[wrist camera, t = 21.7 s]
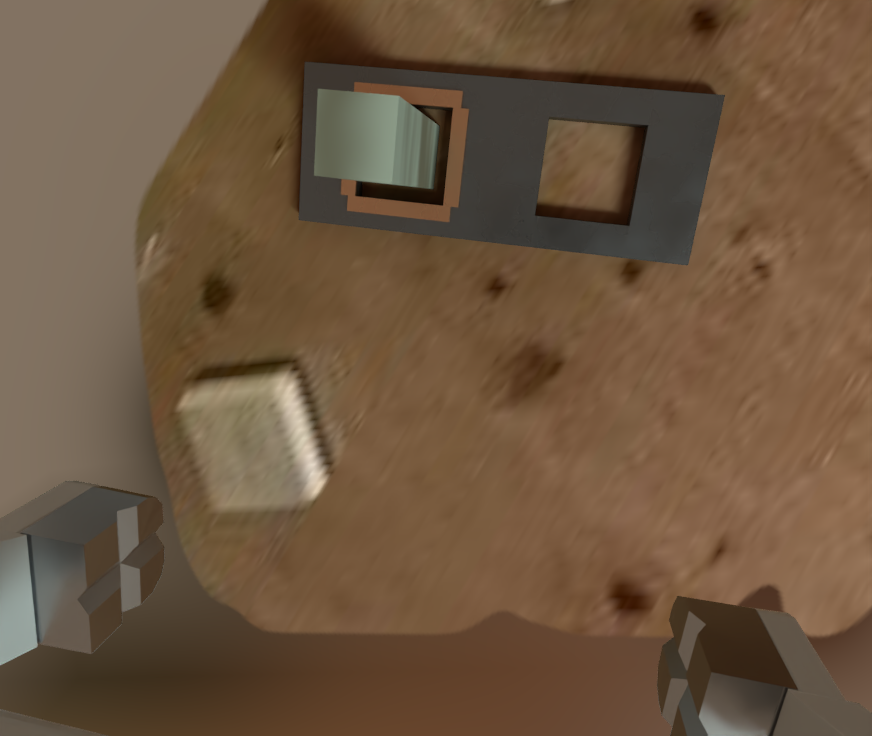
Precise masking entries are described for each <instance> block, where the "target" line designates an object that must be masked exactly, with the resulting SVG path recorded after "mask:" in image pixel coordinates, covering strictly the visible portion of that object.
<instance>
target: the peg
mask: <svg viewBox="0 0 872 736" xmlns="http://www.w3.org/2000/svg"><path fill="white" fill-rule="evenodd" d="M439 129H440V126H439V125H437V124H436V123H435V122H433V121H432V120H431V119H429V118H428V117H427V116H425V115H424V114H423V113H421V112H420V111H419V110H417V109H416V108H415V107H413V106H412V105H411V104H409V103H408V102H407V101H405V100H404V99H403V98H401V97H400V96H396V95H385V94H373V93H362V92H351V91H339V90H328V89H318V97H317V119H316V141H315V163H314V176H321V177H330V178H338V179H347V180H355V181H364V182H372V183H381V184H390V185H399V186H409V187H418V188H427V189H434V180H435V170H436V160H437V150H438V139H439Z"/></svg>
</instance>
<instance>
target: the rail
mask: <svg viewBox="0 0 872 736" xmlns="http://www.w3.org/2000/svg"><path fill="white" fill-rule="evenodd" d="M318 89H328V90H339V91H351V92H362V93H373V94H385V95H396V96H400V97H401V98H403V99H404V100H405V101H407V102H408V103H409V104H411V105H412V106H413V107H417V108H428V109H439V110H451V111H453V114H452V123H451V133H450V143H449V153H448V163H447V172H446V182H445V192H444V202H443V205H435V204H426V203H417V202H408V201H399V200H390V199H381V198H371V197H362V196H361V195H362V181H355V180H347V179H338V178H330V177H321V176H314V163H315V141H316V119H317V97H318ZM724 97H725V95H716V94H704V93H691V92H679V91H666V90H653V89H641V88H628V87H616V86H603V85H591V84H578V83H566V82H553V81H541V80H528V79H516V78H503V77H491V76H478V75H466V74H453V73H441V72H428V71H415V70H403V69H390V68H378V67H365V66H353V65H340V64H328V63H315V62H305V69H304V96H303V122H302V149H301V176H300V202H299V220H303V221H312V222H320V223H329V224H337V225H346V226H355V227H363V228H372V229H380V230H389V231H398V232H406V233H415V234H423V235H432V236H440V237H449V238H458V239H466V240H475V241H483V242H492V243H501V244H509V245H518V246H526V247H535V248H544V249H552V250H561V251H569V252H578V253H587V254H595V255H604V256H612V257H621V258H630V259H638V260H647V261H655V262H664V263H672V264H681V265H688V263H689V258H690V253H691V249H692V244H693V240H694V235H695V230H696V226H697V221H698V217H699V212H700V207H701V203H702V198H703V194H704V189H705V184H706V180H707V175H708V171H709V166H710V161H711V157H712V152H713V148H714V143H715V138H716V134H717V129H718V125H719V120H720V115H721V111H722V106H723V102H724ZM549 119H553V120H564V121H575V122H587V123H598V124H610V125H621V126H632V127H644V128H645V131H644V137H643V142H642V147H641V153H640V158H639V163H638V169H637V174H636V180H635V185H634V190H633V196H632V201H631V207H630V212H629V217H628V223H627V225H618V224H609V223H600V222H591V221H582V220H573V219H563V218H554V217H545V216H536V215H535V212H536V205H537V198H538V191H539V184H540V177H541V170H542V163H543V156H544V149H545V142H546V135H547V128H548V121H549Z"/></svg>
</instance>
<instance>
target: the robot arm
mask: <svg viewBox="0 0 872 736" xmlns="http://www.w3.org/2000/svg"><path fill="white" fill-rule="evenodd" d="M163 522H164V520H163V507H162V503H161V502H160V501H159V500H158V499H157V498H156V497H153V496H148V495H143V494H138V493H133V492H129V491H124V490H119V489H115V488H109V487H105V486H99V485H96V484H91V483H85V482H79V481H65V482H63V483H61V484H59V485H58V486H56V487H54V488H53V489H51V490H49V491H47V492H46V493H44V494H42V495H40V496H39V497H37V498H35V499H34V500H32V501H30V502H28V503H27V504H25V505H23V506H21V507H20V508H18V509H16V510H14V511H13V512H11V513H9V514H7V515H6V516H4V517H2V518H1V519H0V665H1V664H4V663H6V662H8V661H10V660H12V659H14V658H16V657H18V656H20V655H22V654H24V653H26V652H28V651H30V650H32V649H34V648H36V647H37V646H38V644H42V645H48V646H53V647H58V648H63V649H68V650H73V651H78V652H83V653H89V654H92V653H93V652H94V651H95V650H96V649H97V648H98V647H99V646H100V645H101V644H102V643H103V642H104V641H105V640H106V639H107V638H108V637H109V636H110V635H111V634H112V633H113V632H114V631H115V630H116V629H117V628H118V627H119V626H120V625H121V624H122V612H124V611H126V610H129V609H131V608H134V607H136V606H139V605H141V604H142V603H143V602H144V601H145V600H146V598H148V596H150V595H151V593H152V592H153V591H154V588H155V587H156V585H157V583H158V581H159V579H160V577H161V575H162V570H163V565H164V545H163V544H162V542H161V541H160V539H159V538H158V536H157V535H156V533H155V532H156V531H157V530H158V529H159V527H160V526H161V525H162V524H163ZM669 621H670V625H671V628H672V632H673V635H674V637H673V638H672V639H671V640H669V641H668V642H667V643H665V644H664V645H663V646H662V651H661V656H660V660H659V665H658V680H657V689H658V700H659V705H660V710H661V714H662V716H663V718H664V719H665V720H666V721H667V722H668V723H669V724H670V725H671V726H672V730H671V734H670V736H872V713H871V712H870V711H869V710H867V709H866V708H865V707H863V706H862V705H860V704H859V703H855V702H850V701H846V700H845V698H844V696H843V695H842V693H841V692H840V690H839V688H838V687H837V685H836V684H835V682H834V680H833V679H832V677H831V676H830V674H829V672H828V671H827V669H826V667H825V666H824V664H823V663H822V661H821V659H820V658H819V656H818V655H817V653H816V651H815V650H814V648H813V646H812V645H811V643H810V642H809V640H808V638H807V637H806V635H805V633H804V632H803V630H802V629H801V627H800V625H799V624H798V622H797V621H796V619H795V618H794V617H793V616H791V615H790V614H788V613H784V612H777V611H770V610H764V609H757V608H748V607H742V606H736V605H730V604H724V603H718V602H712V601H706V600H700V599H693V598H687V597H681V596H677V598H676V600H675V602H674V604H673V607H672V610H671V614H670V618H669ZM0 736H107V735H103V734H99V733H95V732H91V731H86V730H82V729H78V728H74V727H70V726H66V725H62V724H58V723H54V722H50V721H46V720H42V719H38V718H34V717H30V716H26V715H22V714H18V713H14V712H10V711H5V710H2V709H0Z"/></svg>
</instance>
